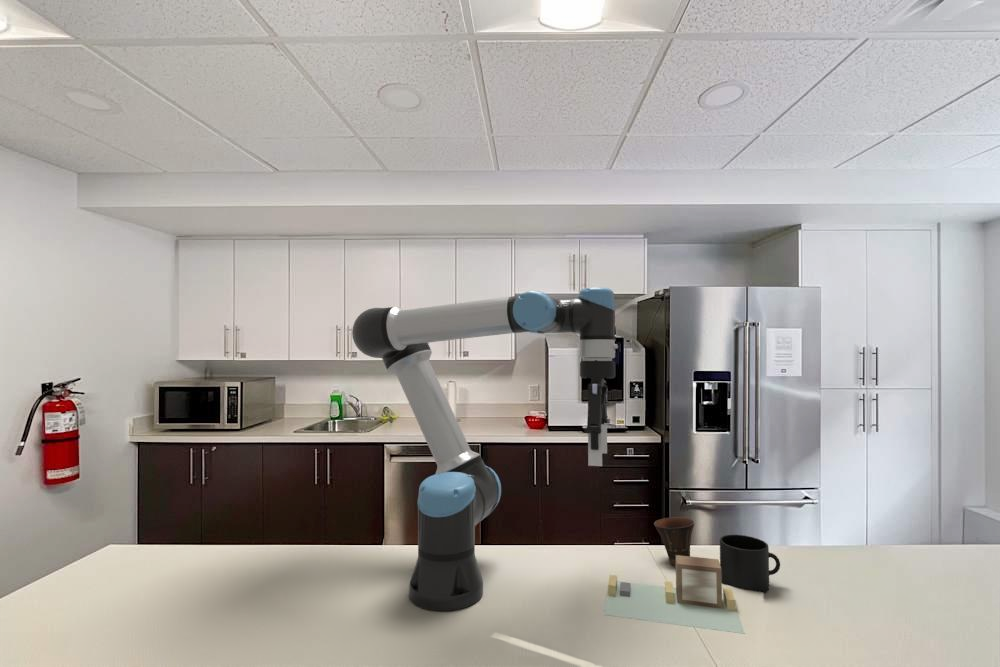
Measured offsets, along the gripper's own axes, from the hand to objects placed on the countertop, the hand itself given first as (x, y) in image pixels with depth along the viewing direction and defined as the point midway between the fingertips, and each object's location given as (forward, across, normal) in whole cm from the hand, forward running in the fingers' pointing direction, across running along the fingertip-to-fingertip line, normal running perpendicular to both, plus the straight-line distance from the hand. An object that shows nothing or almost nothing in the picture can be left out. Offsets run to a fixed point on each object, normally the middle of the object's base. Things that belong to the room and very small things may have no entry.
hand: (598, 459), depth 111 cm
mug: (+27, +9, -31) cm, 42 cm away
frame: (+26, -3, -19) cm, 32 cm away
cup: (+27, +17, -16) cm, 36 cm away
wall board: (+27, -6, -14) cm, 31 cm away
